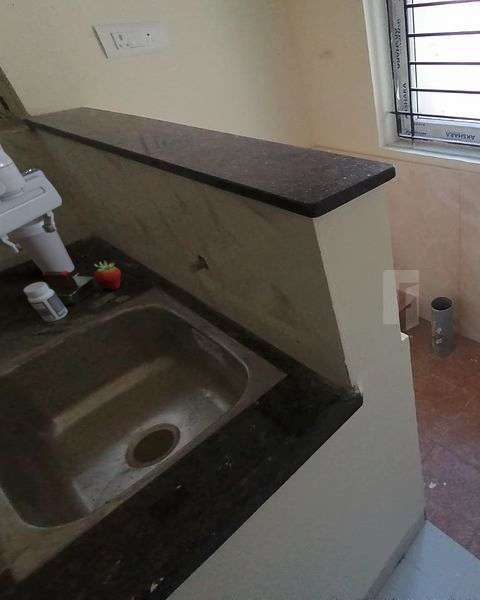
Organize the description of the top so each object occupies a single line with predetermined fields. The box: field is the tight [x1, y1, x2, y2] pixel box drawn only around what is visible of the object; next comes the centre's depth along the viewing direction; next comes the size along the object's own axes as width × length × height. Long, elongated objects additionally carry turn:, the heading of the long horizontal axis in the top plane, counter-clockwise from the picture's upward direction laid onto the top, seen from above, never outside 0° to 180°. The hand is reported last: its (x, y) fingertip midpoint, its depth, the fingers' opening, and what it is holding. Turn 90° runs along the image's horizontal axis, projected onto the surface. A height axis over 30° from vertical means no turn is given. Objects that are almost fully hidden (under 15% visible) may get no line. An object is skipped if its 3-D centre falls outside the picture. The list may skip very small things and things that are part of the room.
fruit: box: [93, 259, 122, 291], centre depth 96 cm, size 5×5×8 cm
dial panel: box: [46, 272, 100, 306], centre depth 96 cm, size 10×10×3 cm
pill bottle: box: [23, 281, 69, 323], centre depth 88 cm, size 5×5×8 cm
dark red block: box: [41, 271, 77, 287], centre depth 94 cm, size 6×2×4 cm, turn 85°
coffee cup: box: [7, 216, 75, 274], centre depth 101 cm, size 10×10×15 cm
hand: (35, 241), depth 87 cm, fingers open, 8 cm apart
